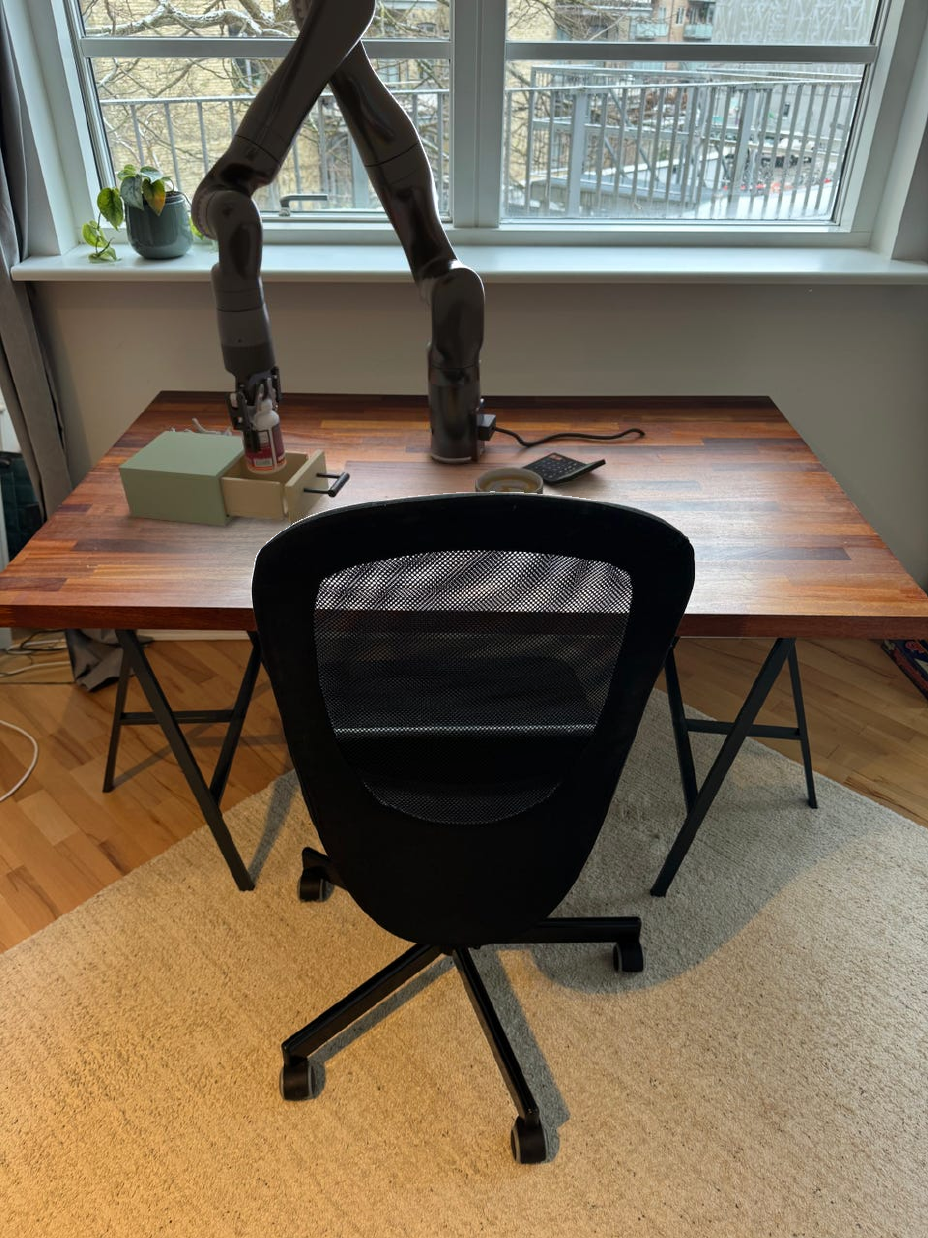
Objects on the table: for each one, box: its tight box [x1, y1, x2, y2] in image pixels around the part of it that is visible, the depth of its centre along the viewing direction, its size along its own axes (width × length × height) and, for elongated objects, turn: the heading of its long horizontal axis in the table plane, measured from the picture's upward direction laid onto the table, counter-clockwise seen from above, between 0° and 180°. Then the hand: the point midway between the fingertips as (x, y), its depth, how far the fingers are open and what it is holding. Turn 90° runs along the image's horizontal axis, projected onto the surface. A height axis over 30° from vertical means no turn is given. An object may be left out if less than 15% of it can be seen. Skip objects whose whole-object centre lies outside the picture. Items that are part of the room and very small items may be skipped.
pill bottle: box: [240, 397, 286, 474], centre depth 138 cm, size 6×6×11 cm
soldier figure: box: [170, 417, 233, 436], centre depth 166 cm, size 8×5×12 cm
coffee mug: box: [474, 466, 544, 495], centre depth 133 cm, size 13×10×10 cm
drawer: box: [219, 449, 351, 526], centre depth 143 cm, size 21×14×7 cm, turn 76°
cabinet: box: [117, 430, 245, 527], centre depth 146 cm, size 17×15×9 cm
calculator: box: [521, 452, 607, 487], centre depth 152 cm, size 9×12×3 cm
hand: (263, 442), depth 139 cm, fingers closed on pill bottle, 6 cm apart
